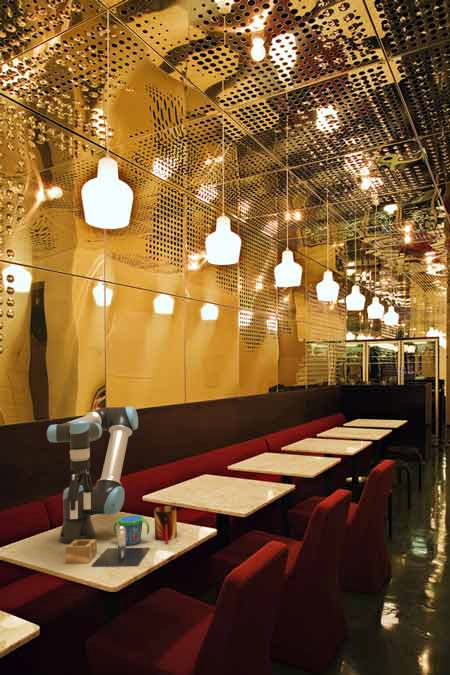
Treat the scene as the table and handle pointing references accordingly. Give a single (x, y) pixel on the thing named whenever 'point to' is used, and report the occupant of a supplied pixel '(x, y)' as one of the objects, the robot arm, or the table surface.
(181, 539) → the table surface
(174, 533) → the mug
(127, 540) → the snack cup
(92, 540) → the square wooden frame
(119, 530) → the post stand
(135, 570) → the table surface
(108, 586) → the table surface
